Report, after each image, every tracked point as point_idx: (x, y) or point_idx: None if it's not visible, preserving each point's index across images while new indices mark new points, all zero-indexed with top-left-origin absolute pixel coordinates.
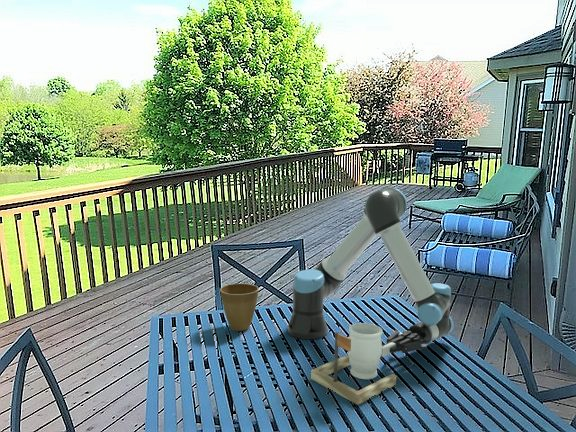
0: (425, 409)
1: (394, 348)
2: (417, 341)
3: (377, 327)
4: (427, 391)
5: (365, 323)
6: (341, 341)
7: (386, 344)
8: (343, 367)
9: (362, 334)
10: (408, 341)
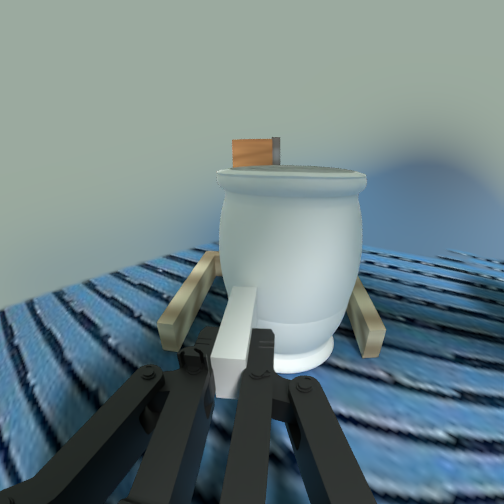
0: (81, 308)
1: (198, 337)
2: (61, 477)
3: (279, 182)
4: (70, 361)
5: (347, 175)
6: (258, 152)
7: (251, 320)
8: (353, 327)
9: (264, 166)
10: (142, 469)
